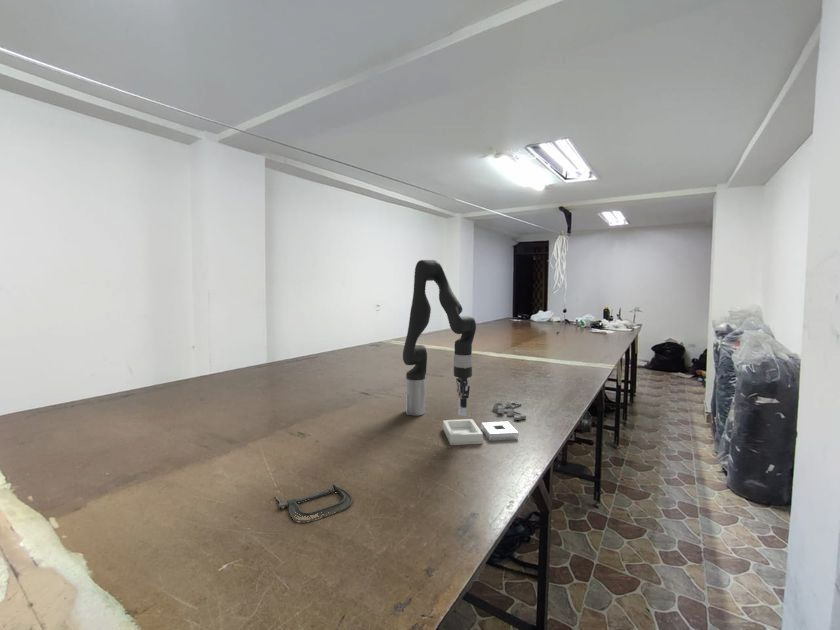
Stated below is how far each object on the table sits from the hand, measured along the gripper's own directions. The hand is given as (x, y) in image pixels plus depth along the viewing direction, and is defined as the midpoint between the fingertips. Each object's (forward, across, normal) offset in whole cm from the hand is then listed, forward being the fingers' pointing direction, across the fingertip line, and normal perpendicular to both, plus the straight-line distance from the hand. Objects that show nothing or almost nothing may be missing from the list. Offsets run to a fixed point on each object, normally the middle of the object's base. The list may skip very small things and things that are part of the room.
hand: (462, 405), depth 156 cm
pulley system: (+14, -27, +30) cm, 43 cm away
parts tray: (+13, 0, 0) cm, 13 cm away
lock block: (+13, 0, +16) cm, 21 cm away
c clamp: (+14, +41, -54) cm, 69 cm away
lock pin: (+4, 0, 0) cm, 4 cm away
